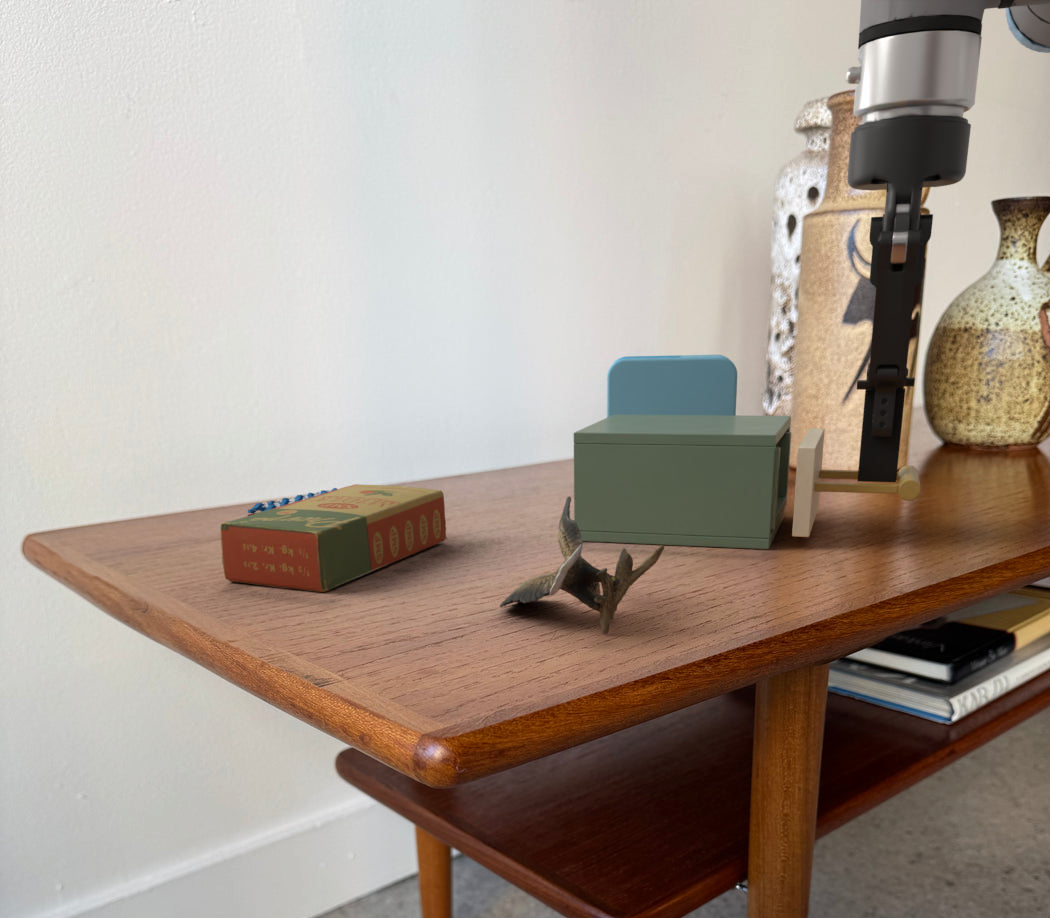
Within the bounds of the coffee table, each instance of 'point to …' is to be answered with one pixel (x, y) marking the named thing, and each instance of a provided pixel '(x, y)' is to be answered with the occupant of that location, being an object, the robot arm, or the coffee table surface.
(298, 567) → the carton
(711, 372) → the blue rounded panel
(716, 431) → the cabinet
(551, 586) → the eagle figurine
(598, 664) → the coffee table surface
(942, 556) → the coffee table surface
